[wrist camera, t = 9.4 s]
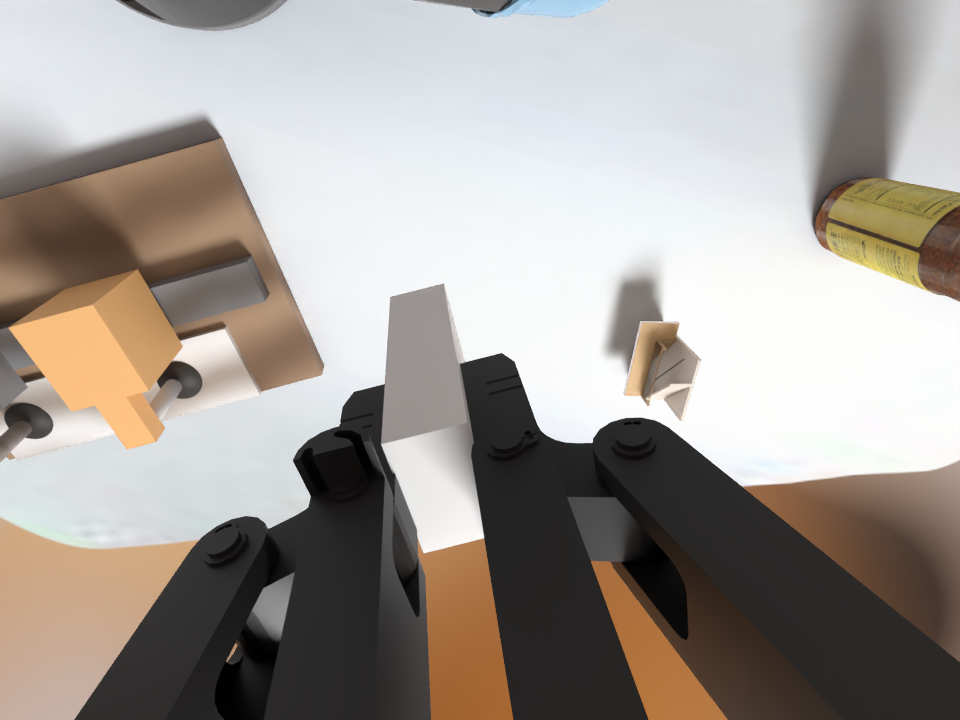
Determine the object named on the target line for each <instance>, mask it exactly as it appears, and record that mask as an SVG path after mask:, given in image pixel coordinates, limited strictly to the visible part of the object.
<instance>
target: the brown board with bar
mask: <svg viewBox="0 0 960 720" xmlns="http://www.w3.org/2000/svg"><path fill="white" fill-rule="evenodd" d="M137 269H138V270H139V272H140V274H141V276H142V277H143V279H144V281H145V282H146V284H147V286H148V287H149V289H150V291H151V293H152V294H153V296H154V298H155V299H156V301H157V303H158V305H159V306H160V308H161V310H162V311H163V313H164V315H165V316H166V318H167V320H168V322H169V323H170V325H171V327H172V328H173V330H174V332H175V333H176V335H177V337H178V339H179V340H180V342H181V344H182V345H183V347H182V349H181V350H180V351H179V353H178V354H177V355H176V356H175V358H174V359H173V360H172V362H171V363H170V364H169V365H168V367H167V368H166V369H165V371H164V372H163V373H162V375H161V376H160V377H159V378H158V380H157V381H156V382H155V384H154V385H153V386H152V387H151V389H150V390H149V391H146V392H143V393H142V394H143V396H144V397H145V399H146V400H147V402H148V403H149V404H150V403H151V401H152V400H153V399H154V397H155V396H156V395H157V393H158V392H159V391H160V389H161V388H162V387H163V385H164V384H165V382H166V381H168V380H170V379H174V380H177V381H179V382H180V383H181V385H182V390H181V391H180V393H179V394H178V396H177V397H176V399H175V400H174V402H173V403H172V405H171V406H170V408H169V409H168V411H167V412H166V414H165V415H164V417H163V418H162V420H161V421H165V420H169V419H172V418H176V417H180V416H183V415H187V414H191V413H195V412H198V411H202V410H206V409H209V408H213V407H217V406H220V405H224V404H228V403H231V402H235V401H239V400H242V399H246V398H250V397H254V396H257V395H260V393H261V391H265V390H268V389H272V388H276V387H279V386H283V385H287V384H291V383H294V382H298V381H302V380H305V379H309V378H313V377H316V376H320V375H322V372H323V368H324V364H323V362H322V360H321V358H320V355H319V353H318V351H317V349H316V346H315V344H314V342H313V340H312V337H311V335H310V333H309V331H308V329H307V326H306V324H305V322H304V320H303V317H302V315H301V313H300V311H299V308H298V306H297V304H296V302H295V300H294V297H293V295H292V293H291V291H290V288H289V286H288V284H287V282H286V279H285V277H284V275H283V273H282V270H281V268H280V266H279V264H278V262H277V259H276V257H275V255H274V253H273V250H272V248H271V246H270V244H269V241H268V239H267V237H266V235H265V233H264V230H263V228H262V226H261V224H260V221H259V219H258V217H257V215H256V212H255V210H254V208H253V206H252V204H251V201H250V199H249V197H248V195H247V192H246V190H245V188H244V186H243V183H242V181H241V179H240V177H239V174H238V172H237V170H236V168H235V166H234V163H233V161H232V159H231V157H230V154H229V152H228V150H227V148H226V145H225V143H224V141H223V139H222V138H219V139H215V140H212V141H208V142H204V143H201V144H197V145H194V146H190V147H186V148H183V149H179V150H176V151H172V152H168V153H165V154H161V155H158V156H154V157H150V158H147V159H143V160H140V161H136V162H132V163H129V164H125V165H122V166H118V167H114V168H111V169H107V170H104V171H100V172H96V173H93V174H89V175H86V176H82V177H78V178H75V179H71V180H67V181H64V182H60V183H57V184H53V185H49V186H46V187H42V188H39V189H35V190H31V191H28V192H24V193H21V194H17V195H13V196H10V197H6V198H3V199H0V462H1V461H2V460H3V459H4V458H5V457H6V456H7V457H8V458H9V460H10V459H14V458H16V459H17V460H21V459H25V458H29V457H32V456H36V455H40V454H43V453H47V452H51V451H54V450H58V449H62V448H66V447H69V446H73V445H77V444H80V443H84V442H88V441H91V440H95V439H99V438H102V437H106V436H110V435H113V434H115V432H114V431H113V430H112V428H111V427H110V426H109V424H108V423H107V421H106V420H105V419H104V417H103V416H102V415H101V413H100V412H99V410H98V409H97V408H96V406H91V407H87V408H84V409H80V410H76V411H73V412H72V411H71V410H70V409H69V407H68V406H67V405H66V404H65V402H64V401H63V400H62V398H61V397H60V396H59V394H58V393H57V392H56V390H55V389H54V388H53V386H52V385H51V384H50V382H49V381H48V380H47V378H46V377H45V376H44V374H43V373H42V372H41V371H40V369H39V368H38V367H37V365H36V364H35V363H34V361H33V360H32V359H31V357H30V356H29V355H28V353H27V352H26V351H25V349H24V348H23V347H22V345H21V344H20V343H19V341H18V340H17V339H16V338H15V336H14V335H13V334H12V332H11V331H10V330H9V327H10V326H12V325H13V324H15V323H16V322H18V321H19V320H20V319H22V318H23V317H25V316H26V315H28V314H29V313H31V312H32V311H34V310H35V309H37V308H38V307H40V306H41V305H43V304H44V303H46V302H47V301H49V300H50V299H52V298H53V297H55V296H56V295H57V294H59V293H60V292H62V291H63V290H65V289H68V288H71V287H75V286H79V285H82V284H86V283H90V282H93V281H97V280H100V279H104V278H108V277H111V276H115V275H119V274H122V273H126V272H130V271H133V270H137Z"/></svg>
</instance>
